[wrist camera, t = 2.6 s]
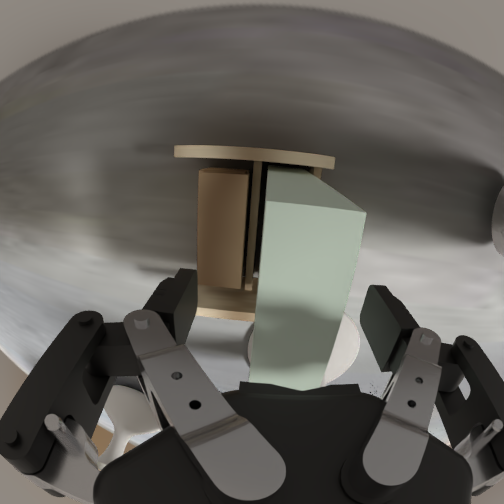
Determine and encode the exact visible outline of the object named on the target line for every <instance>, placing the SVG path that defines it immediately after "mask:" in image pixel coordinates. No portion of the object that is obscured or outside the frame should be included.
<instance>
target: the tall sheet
mask: <svg viewBox="0 0 504 504" xmlns="http://www.w3.org/2000/svg"><path fill="white" fill-rule="evenodd" d="M366 214H367V212H365V211H364V210H363V209H361V208H360V207H358V206H357V205H356V204H354V203H353V202H352V201H350V200H349V199H347V198H346V197H345V196H343V195H342V194H340V193H339V192H338V191H336V190H335V189H333V188H332V187H330V186H329V185H327V184H326V183H324V182H323V181H322V180H320V179H319V178H317V177H316V176H314V175H312V174H311V173H309V172H308V171H306V170H305V169H302V168H294V167H284V166H274V165H268V174H267V186H266V198H265V209H264V220H263V232H262V243H261V254H260V265H259V276H258V287H257V298H256V309H255V320H254V330H253V341H252V352H251V362H250V372H249V382H254V383H268V384H274V385H278V386H282V387H287V388H291V389H296V390H301V391H304V390H310V389H315V388H319V387H320V385H321V382H322V379H323V377H324V374H325V371H326V368H327V365H328V362H329V359H330V356H331V353H332V350H333V347H334V344H335V341H336V338H337V334H338V331H339V328H340V324H341V321H342V318H343V314H344V311H345V307H346V303H347V300H348V296H349V292H350V288H351V284H352V280H353V276H354V272H355V268H356V263H357V259H358V254H359V250H360V245H361V240H362V235H363V230H364V225H365V220H366Z"/></svg>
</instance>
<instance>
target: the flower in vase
mask: <svg viewBox="0 0 504 504" xmlns="http://www.w3.org/2000/svg"><path fill="white" fill-rule="evenodd" d="M104 409H105V411H106V413H107V414H108V416H109V418H110V419H111V421H112V423H113V425H114V429H115V431H114V435H113V438H112V440H111V442H110V444H109V446H108V448H107V449H106V450H105V452H104V453H103V454H102V455H101V456H100V457H98V462H97V464H98V468H99V469H100V470H102V469H103V468H104V467H105V466H106V465H107V464H108V463H110V462H111V461H113V460H115V459H116V458H118V457H120V456H122V455H123V453H124V449H125V447H126V444H127V442H128V441H129V439H130V438H131V437H132V436H135V435H141V434H149V433H154V432H157V431H160V428H159V426H158V423H157V421H156V419H155V416H154V414H153V412H152V409H151V407H150V405H149V403H148V401H147V399H146V397H145V395H144V394H143V393H141V392H139V391H137V390H135V389H132V388H129V387H126V386H121V385H113V387H112V389H111V392H110V394H109V396H108V399H107V401H106V403H105V406H104Z"/></svg>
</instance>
